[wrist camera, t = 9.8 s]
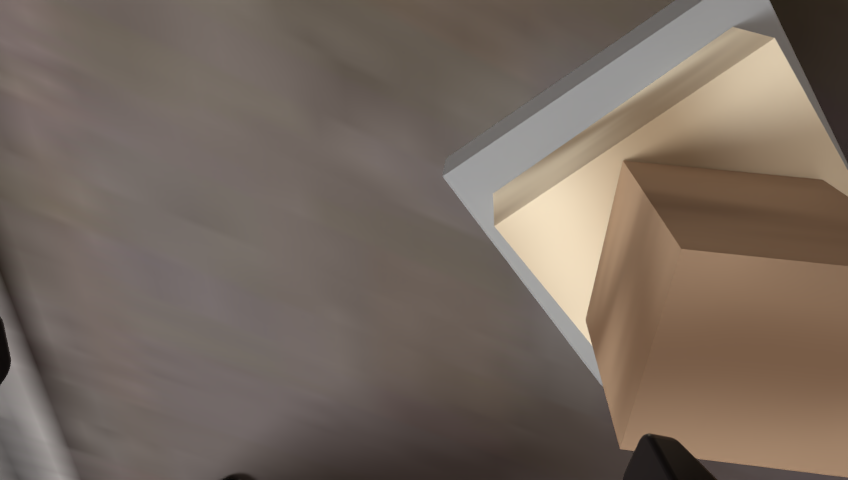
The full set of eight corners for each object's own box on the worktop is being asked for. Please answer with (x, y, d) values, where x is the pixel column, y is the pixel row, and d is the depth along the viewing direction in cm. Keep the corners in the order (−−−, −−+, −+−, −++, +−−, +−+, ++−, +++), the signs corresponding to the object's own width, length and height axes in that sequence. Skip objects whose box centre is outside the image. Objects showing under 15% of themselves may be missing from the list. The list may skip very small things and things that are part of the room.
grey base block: (590, 345, 23) (601, 385, 21) (446, 152, 20) (442, 176, 18) (843, 217, 20) (889, 250, 18) (717, -35, 17) (752, -34, 15)
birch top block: (625, 359, 20) (643, 407, 18) (492, 193, 18) (494, 226, 16) (854, 239, 18) (908, 280, 16) (732, 26, 15) (774, 37, 13)
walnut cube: (757, 339, 17) (855, 478, 12) (585, 320, 17) (620, 449, 13) (822, 179, 14) (971, 278, 10) (623, 160, 15) (681, 249, 10)
